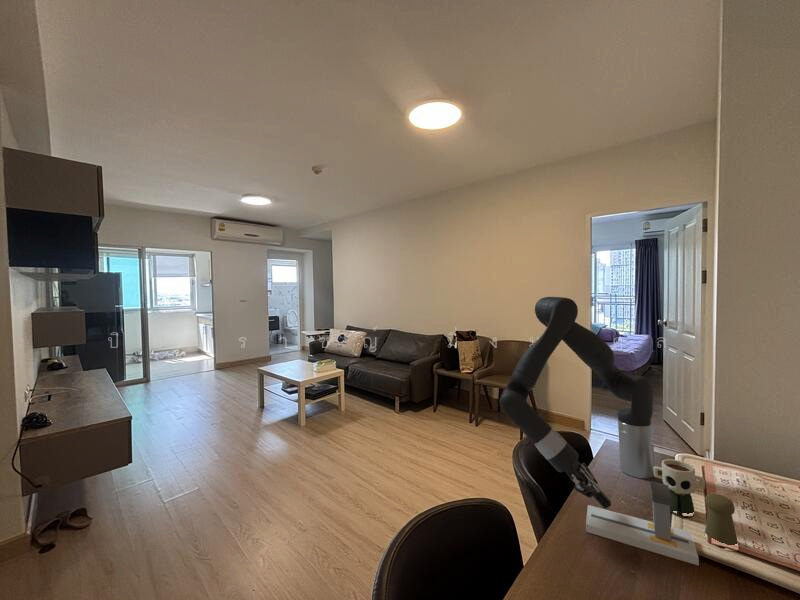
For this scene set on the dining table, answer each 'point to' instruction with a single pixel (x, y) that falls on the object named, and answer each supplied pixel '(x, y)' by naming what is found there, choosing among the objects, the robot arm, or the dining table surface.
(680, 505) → the character mug
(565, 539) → the dining table surface
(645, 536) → the fader console
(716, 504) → the cork
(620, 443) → the robot arm
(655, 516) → the fader knob
